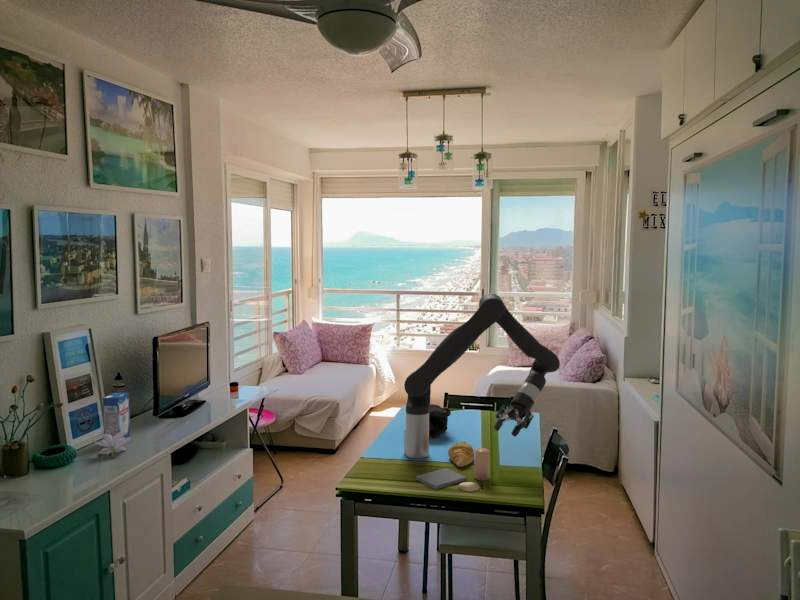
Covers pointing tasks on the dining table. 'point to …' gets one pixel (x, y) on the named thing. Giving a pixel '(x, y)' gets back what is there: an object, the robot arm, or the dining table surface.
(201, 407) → the dining table surface
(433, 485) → the slate board
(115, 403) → the milk carton
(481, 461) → the pinkish tan rounded cylinder
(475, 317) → the robot arm
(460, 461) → the croissant
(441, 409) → the puffin
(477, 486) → the cork coaster
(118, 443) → the water lily
